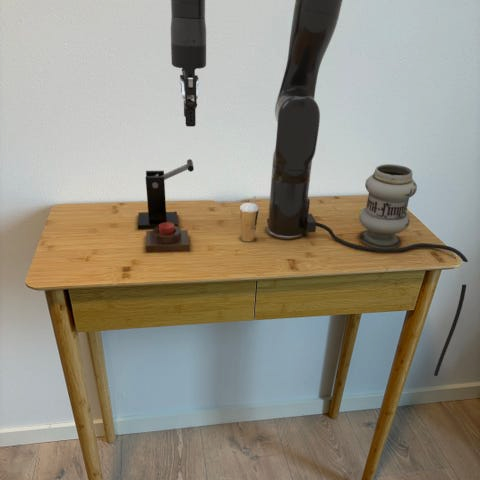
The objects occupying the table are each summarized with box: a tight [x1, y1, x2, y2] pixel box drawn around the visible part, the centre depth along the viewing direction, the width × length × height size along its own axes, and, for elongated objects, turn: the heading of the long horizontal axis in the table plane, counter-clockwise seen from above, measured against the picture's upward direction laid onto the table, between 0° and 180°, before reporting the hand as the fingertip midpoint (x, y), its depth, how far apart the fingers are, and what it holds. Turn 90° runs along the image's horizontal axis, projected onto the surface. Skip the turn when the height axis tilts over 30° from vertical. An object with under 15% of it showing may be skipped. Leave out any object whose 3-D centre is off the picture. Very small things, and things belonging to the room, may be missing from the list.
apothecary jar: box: [358, 163, 418, 248], centre depth 119 cm, size 12×12×18 cm
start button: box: [159, 222, 175, 235], centre depth 116 cm, size 4×4×2 cm
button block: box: [145, 226, 190, 253], centre depth 117 cm, size 10×8×4 cm
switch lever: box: [153, 158, 195, 181], centre depth 121 cm, size 12×5×2 cm, turn 98°
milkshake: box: [239, 195, 260, 242], centre depth 120 cm, size 4×5×10 cm
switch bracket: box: [137, 170, 179, 230], centre depth 124 cm, size 10×8×13 cm
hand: (189, 121), depth 115 cm, fingers open, 8 cm apart
